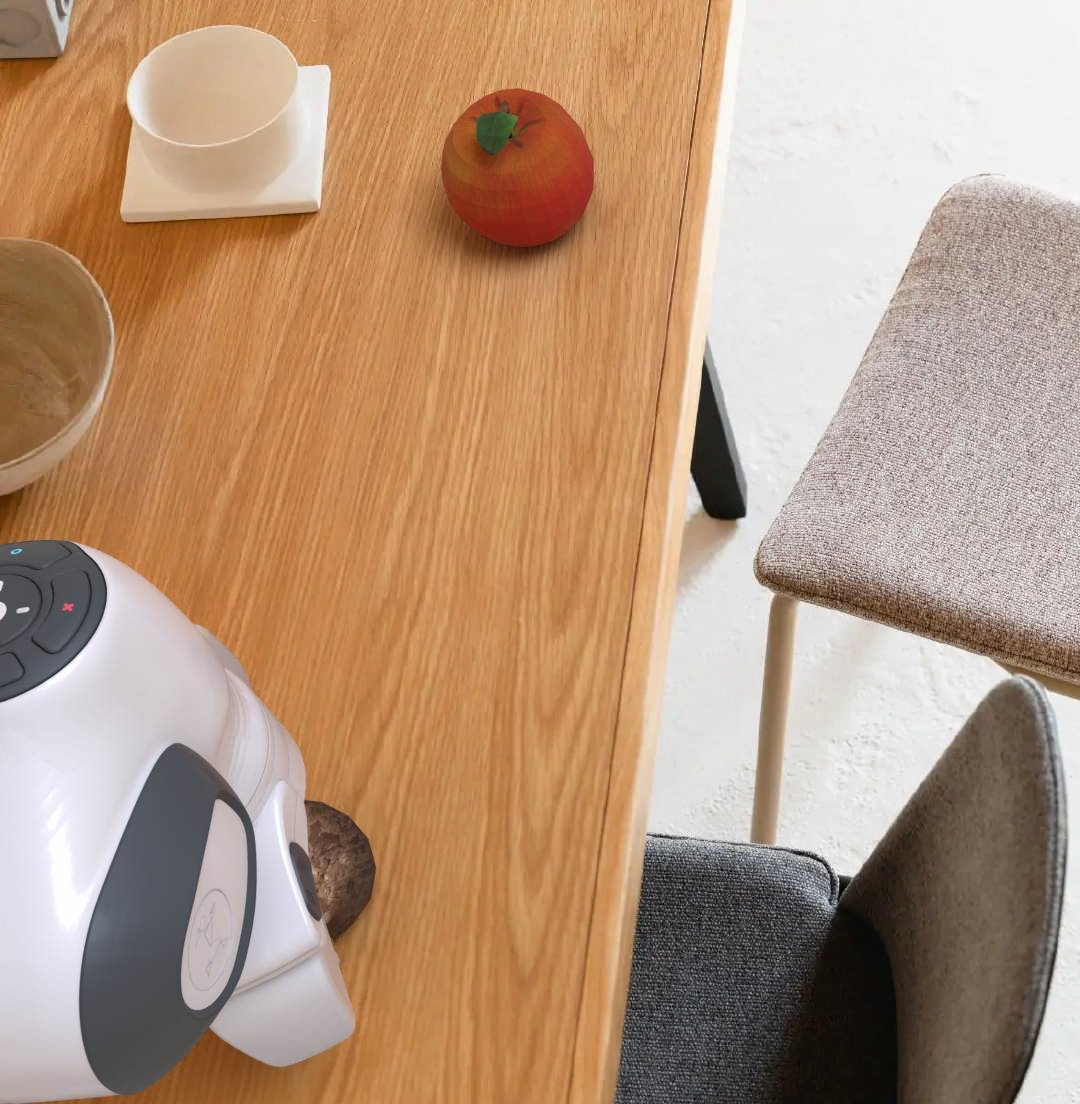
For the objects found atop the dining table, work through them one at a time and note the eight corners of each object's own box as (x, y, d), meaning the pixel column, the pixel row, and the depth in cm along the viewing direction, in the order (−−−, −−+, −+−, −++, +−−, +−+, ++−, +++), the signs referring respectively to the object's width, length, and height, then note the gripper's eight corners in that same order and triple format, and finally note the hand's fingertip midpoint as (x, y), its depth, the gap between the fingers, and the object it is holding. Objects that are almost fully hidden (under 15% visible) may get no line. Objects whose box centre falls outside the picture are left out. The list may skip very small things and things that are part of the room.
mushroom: (192, 802, 74) (201, 816, 68) (357, 781, 78) (378, 792, 72) (204, 962, 74) (214, 988, 68) (368, 933, 77) (390, 956, 72)
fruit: (615, 165, 99) (592, 48, 90) (589, 276, 94) (562, 164, 86) (476, 156, 100) (440, 39, 91) (444, 265, 95) (402, 153, 86)
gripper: (59, 615, 65) (184, 735, 77) (168, 1048, 56) (291, 1107, 68) (200, 560, 66) (302, 686, 78) (329, 974, 57) (422, 1045, 69)
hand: (297, 884), depth 73 cm, fingers closed on mushroom, 7 cm apart
